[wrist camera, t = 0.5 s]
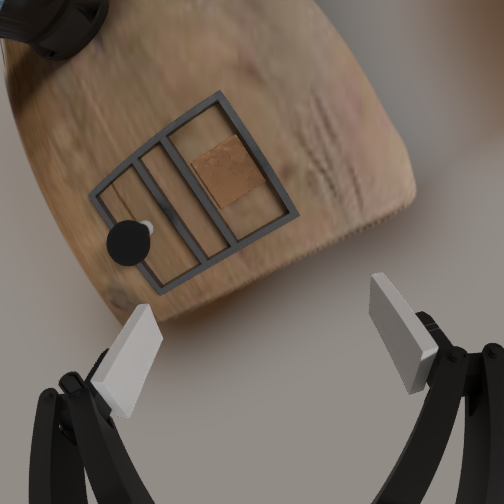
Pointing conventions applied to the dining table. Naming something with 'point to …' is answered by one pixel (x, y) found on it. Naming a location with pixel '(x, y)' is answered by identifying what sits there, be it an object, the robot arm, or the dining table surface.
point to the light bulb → (129, 242)
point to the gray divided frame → (217, 181)
